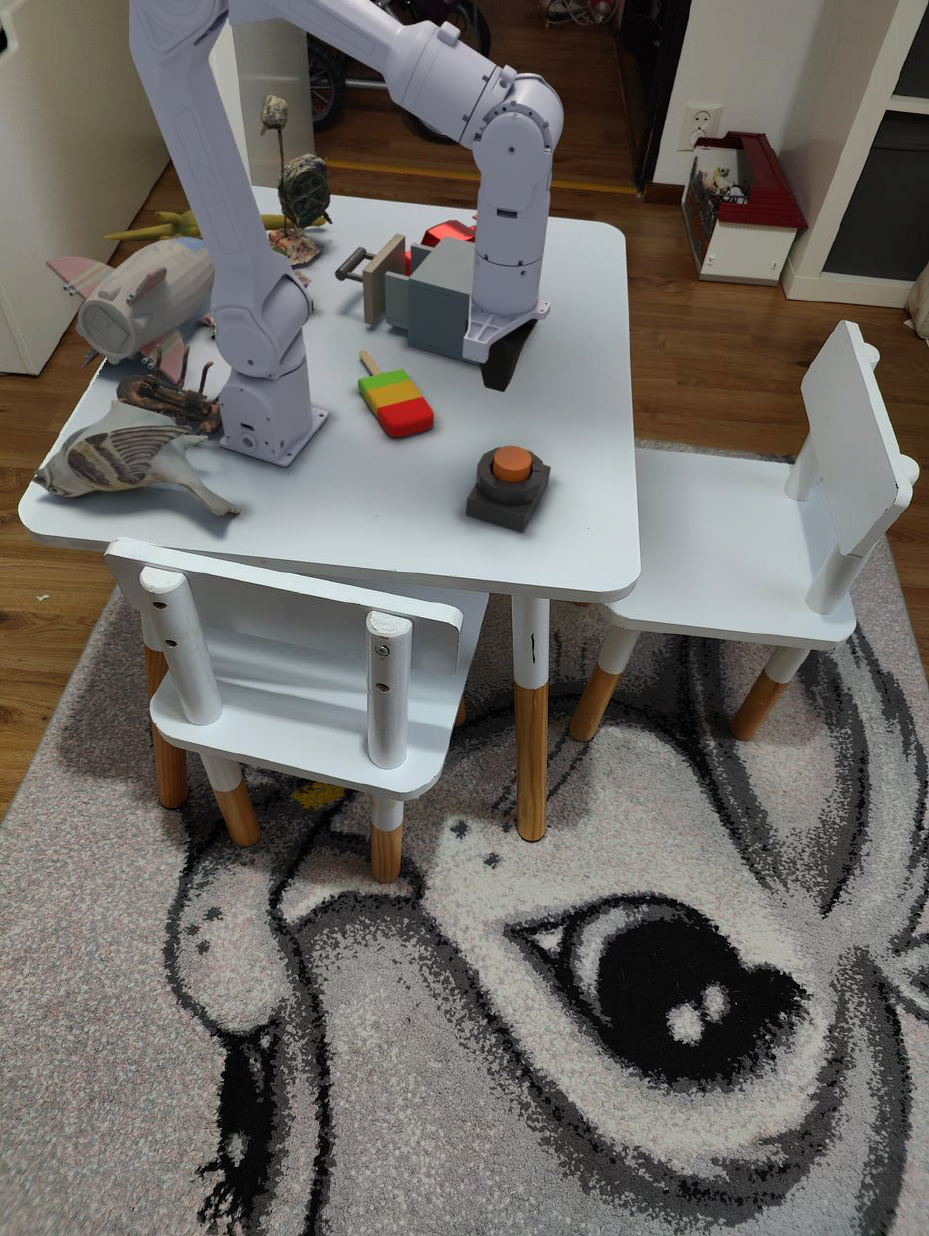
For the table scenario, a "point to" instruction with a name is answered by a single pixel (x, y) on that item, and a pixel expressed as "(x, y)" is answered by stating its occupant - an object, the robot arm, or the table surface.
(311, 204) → the plant with pod
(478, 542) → the table surface
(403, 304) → the drawer
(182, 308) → the toy rocket
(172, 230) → the toy
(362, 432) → the table surface
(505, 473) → the button
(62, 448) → the figurine
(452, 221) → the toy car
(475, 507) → the control block
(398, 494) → the table surface
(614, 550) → the table surface
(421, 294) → the drawer cabinet
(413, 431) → the popsicle
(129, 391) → the toy
